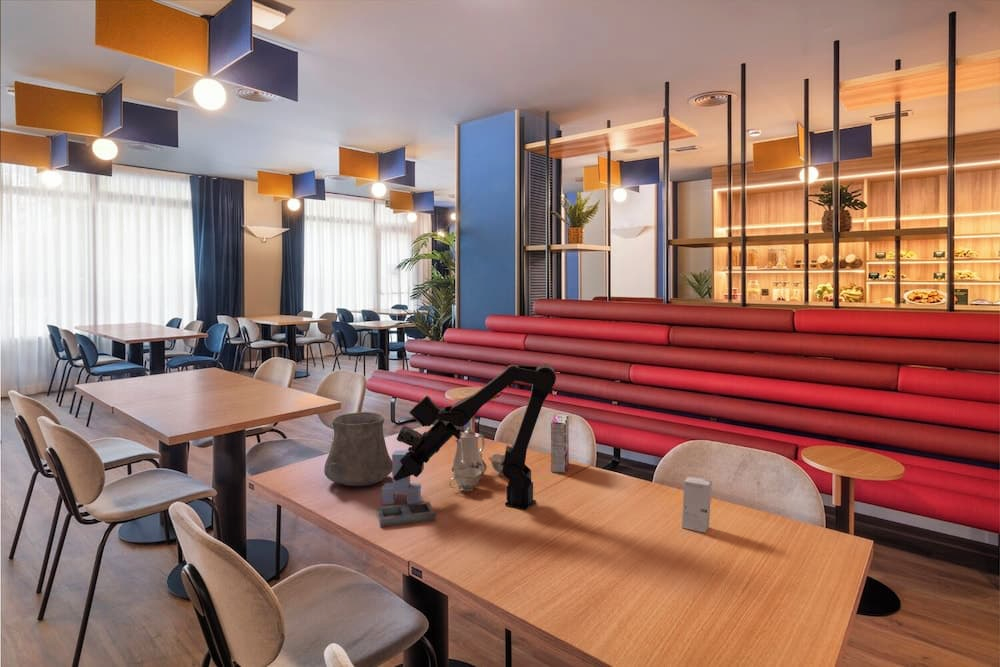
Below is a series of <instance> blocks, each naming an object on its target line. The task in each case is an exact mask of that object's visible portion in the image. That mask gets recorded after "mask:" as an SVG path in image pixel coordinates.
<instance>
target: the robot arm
mask: <svg viewBox="0 0 1000 667" xmlns="http://www.w3.org/2000/svg"><path fill="white" fill-rule="evenodd" d="M556 376H557V375H556V372H555V369H554V368H553V366H551V365H549V364H545V363H542V364H540V365H537V366H534V365H519V364H518V365H517V364H516V363H515V364H514V363H513V364H510V365H508V366H507V367H506V369H504V370H503V371H502V372H501V373H499V374H498V375H497V376H495V377H494V378H493V379H492V380H490V381H489V382H488V383H486V384H485V385H483V387H481V388H480V389H479V390H477V392H475V393H472V394H471V395H469V396H467V397H464V398H463V399H460V400H458V401H456V402H455V403H454V404H453V405H448V406H442V407H439V406H438V404H436V403H435V402H434V401H433V399H432V398H431V397H430V396H429V395H428V394H427V395H426V396H425V397H424V398H423V399H421V401H418V402H417V403H416V405H414V406H413V407H412V409H410V411H409V412H408V413H409V415H411V416H412V417H413V418H414V419H415V421H417V422H418V424H420V425H421V427H430V426H431V427H430V429H428V430H427V431H424V432H423V433H421V432H419V431H417V430H415V429H413V428H411V427H408V426H406V425H403V426H402V427H401V428H400V430H399V433H398V434H397V437H396V441H398V442H399V443H403V444H406V445H407V446H409V447H408V448H407V450H410V452H407V453H406V454H405V455H404V456H403V457H402V458H401V460H400V462H401V464H402V466H401V468H400V469H399V471H398V472H397V473H396V475H395V476H394V478H393V477H392V480H393V479H394V480H395V481H397V480H400V479H403V478H405V477H408V476H410V477H411V476H413V477H416V478H418V477H419V476H420V475H421V473H423V471H424V470H425V466H424V464H427V463H428V462H429V461H430V459H431V458H432V457H433V456H434V455H435V454H437V453H438V452H439V451H440V450H441V448H442V447H443V446H444V445H446V444H447V442H448V441H449V440H450V439H452V438H453V436H454V437H455V438H456V440H459V441H460V438H461V434H462V429H463V428H462V427H464V426H466V425H467V424H468V423H469V422H470V420H472V418H474V416H475V415H476V414H477V413H478V411H479V410H480V409H481V408H482V407H483V406H484V405H486V404H487V403H488V402H490V400H492V399H493V398H494V397H496V396H498V394H500V393H501V392H502V391H503V390H504V389H506V388H507V387H509V386H510V385H511V384H513V383H514V382H520V383H525V384H529V385H531V390H530V391H531V392H530V397H529V399H528V403H527V406H526V408H525V411H524V414H523V416H522V419H521V422H520V426H519V428H518V431H517V434H516V437H515V440H514V442H513V443H512V444H511V446H510V445H508V444H507V445H506V446H505V452H504V454H503V455H504V456H503V457H502V462H501V466H502V465H503V469H502V471H503V474H504V475H503V476H504V477H505V478H506V479H507V480H508V481H507V486H506V502H505V503H504V505H505V506H507V507H512V508H517V509H521V510H526V509H528V508H529V507H530V508H531V506H533V505H535V503H536V502H537V500H536V499H534V482H533V481H532V469H531V468H529V467H528V466H527V464H526V458H527V452H528V447H529V444H530V441H531V438H532V435H533V433H534V430H535V428H536V424H537V421H538V418H539V415H540V412H541V410H542V406H543V404H544V401H545V400H546V399H547V397H548V395H549V394H550V392H551V391H552V389H553V387H554V386H555V384H556V380H557V377H556ZM437 420H438V421H437ZM436 421H437V422H436ZM433 423H434V424H433ZM432 425H433V426H432Z"/></svg>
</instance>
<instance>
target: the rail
mask: <svg viewBox="0 0 1000 667" xmlns="http://www.w3.org/2000/svg"><path fill="white" fill-rule="evenodd" d="M376 513H377V514H376V516H377V519H378V523H379V527H380V528H386V527H387V528H388V527H394V526H402V525H409V524H410V525H411V524H417V523H419V524H420V523H425V522H426V523H427V522H435V521H436V513H435V510H434V508H433V506H432V504H431V502H430V501H424V502H419V503H414V504H408V503H407V504H398V505H389V506H388V505H387V506H380V507H376Z"/></svg>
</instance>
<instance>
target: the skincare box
mask: <svg viewBox="0 0 1000 667" xmlns="http://www.w3.org/2000/svg"><path fill="white" fill-rule="evenodd" d="M683 482H684V483H683V497H682V498H683V499H682V516H681V517H682V519H681V528H682V529H685V530H686V529H687V530H690V531H691V530H692V531H695V532H700V533H706V532H707V531H708V529H709V527H710V516H711V515H710V514H711V503H712V502H711V501H712V500H711V498H712V486H713V481H712V480H710V479H705V478H700V477H694V476H693V477H692V476H690V475H689V476H687V477H686V478H685V480H684V481H683Z"/></svg>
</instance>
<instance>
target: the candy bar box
mask: <svg viewBox="0 0 1000 667" xmlns="http://www.w3.org/2000/svg"><path fill="white" fill-rule="evenodd" d="M569 416H570V415H568V414H554V416H553V418H552V421H551V422H550V437H551V438H550V442H551V443H550V444H551V451H550V453H551V457H550V458H551V460H550V462H551V464H550V465H551V466H550V467H551V468H550V469H551V470H550V471H551V473H561V474H566V472H567V469H568V466H569V461H570V460H569V456H570V452H569V451H570V450H569V449H570V448H569V444H570V441H569V438H570V437H569V436H570V434H569V432H570V431H569V428H570V427H569V426H570V424H569V422H570V421H569Z"/></svg>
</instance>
